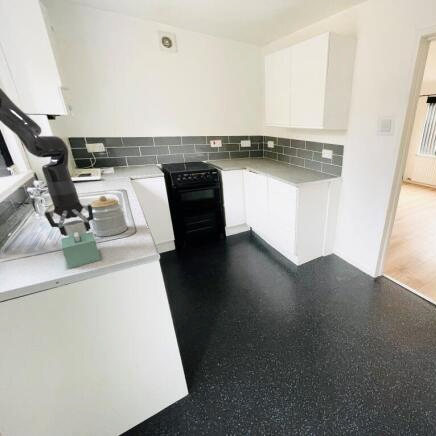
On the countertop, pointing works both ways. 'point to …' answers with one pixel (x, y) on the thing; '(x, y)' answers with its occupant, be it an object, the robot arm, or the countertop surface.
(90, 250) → the tissue box
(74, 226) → the bowl
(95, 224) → the jar
